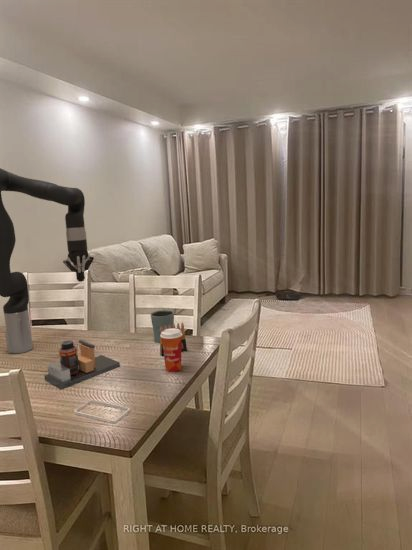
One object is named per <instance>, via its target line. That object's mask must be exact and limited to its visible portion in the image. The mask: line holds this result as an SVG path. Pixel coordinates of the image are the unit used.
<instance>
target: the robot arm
mask: <svg viewBox="0 0 412 550" xmlns="http://www.w3.org/2000/svg"><path fill="white" fill-rule="evenodd" d="M2 192H14V193H15V192H16V193H22V194H24V195H27V196H30V197H33V198H36V199H39V200H42V201H43V200H44V201H47V202H48V201H49V202H54V203H57V204H60V205H63V206H65V207H66V206H67V213H66V214H65V217H64V218H65V219H64V220H65V231H66V232H65V236H66V246H67V251H68V252H67V253H68V254H67V258H65V260H63V261H62V263H63V264H64V265H65V266H66V268H68V270H69V271H71V272H74V273H75V275H76V281H78V282H81V283H82V282H85V278H86V277H85V276H86V275H85V271H88V270H89V269H90V267H91V265H92V263H93V261H94V259H95V257H94V256H91V255H89V252H88V243H87V241H88V240H87V232H86V227H85V218H84V214H85V213H84V212H85V205H86V202H85V199H86V198H85V194H84V192H83V191H82V190H81V189H79V188H78V187H69V186H64V185H63V186H62V185H59V184H57V183H53V182H49V181H44V180H40V179H34V178H28V177H24V176H21V175H17V174H14V173H12V172H10V171H7V170H5V169H2V168H1V167H0V297H2V298H9V299H8V300H7V301H6V303H4V305H3V307H2V309H3V316H4V324H5V331H4V334H5V341H6V342H5V343H6V348H7V353H8V354H22V353H27V352H29V351H32V350H33V349H34V343H33V337H32V335H33V334H32V328H31V322H30V321H31V320H30V315H29V314H30V313H29V301H30V297H29V285H28V280H27V278H26V276H25V275H24V274H23V272H20V271H13V272H12V271H11V258H12V254H13V252H14V249H15V245H16V232H15V231H16V230H15V226H14V223H13V220H12V219H11V217H10V215H9V212H8V211H7V209H6V208H5V204H4V203H3V202H4V201H3V198H2V196H3V195H2Z"/></svg>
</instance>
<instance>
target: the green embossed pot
mask: <svg viewBox="0 0 412 550" xmlns="http://www.w3.org/2000/svg"><path fill="white" fill-rule="evenodd" d="M150 319H151V320H150V321H151V325H152V330H153V339H154V342H156V343H158V344H160V327H161V326H162V328H163V331H164V328H165V325H166V327H167V329H169V324H170V325H171V328H173V324H175V323H174V321H175V312H174V310H169V309H168V310H167V309H165V310H164V309H163V310H156V311H153V312H151V313H150Z"/></svg>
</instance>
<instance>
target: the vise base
mask: <svg viewBox="0 0 412 550" xmlns="http://www.w3.org/2000/svg"><path fill="white" fill-rule="evenodd" d="M95 363H96V367H94V370H93V371H90V372H88V373H85V372H83V371H81V370H79V372H78V373H76V374H74V375H70V369H69V368H67V367H65V366H63V365H61V363H59V362H57V361H53V362H50V363H48V364H47V363H46V364H47V365H46V366H47V374H45V375H44V380H45V381H47V382H48V383H50V384H51V385H54V386H55V387H56V388H59V389H60V390H64V389H65V388H68V387H72V386H73V385H76V384H78V383H81V382H84V381H86V380H89V379H92V378H94V377H96V376H100V375H101V374H103V373H106V372H108V371H112V370H114V369H117V368H119V367H121V365H120V364H121V363H120V361H119V360H118V361H117V360H115V359H112V358H109V357H107V356H105V355H103V354H100V355H97V356H95Z"/></svg>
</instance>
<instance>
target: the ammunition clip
mask: <svg viewBox="0 0 412 550" xmlns="http://www.w3.org/2000/svg"><path fill="white" fill-rule="evenodd" d="M173 328H175V329H179V330H180V331H181V333H182V336H181V353H184V352H183V351H185V352H187V351H188V348H187V340H186V332H185V325H184V322H183V321H182V322H181V324H180V323H179V322H177V324H176V325H175V323H174V324H173ZM165 329H167V327H166V325H165V328H164V330H165ZM169 329H171V325H170V324H169ZM162 331H163V328H162V326H161V327H160V335H161V332H162ZM159 355H160V356H161V357H163V358H164V353H163V346H162V338H161V336H160V343H159Z"/></svg>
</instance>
